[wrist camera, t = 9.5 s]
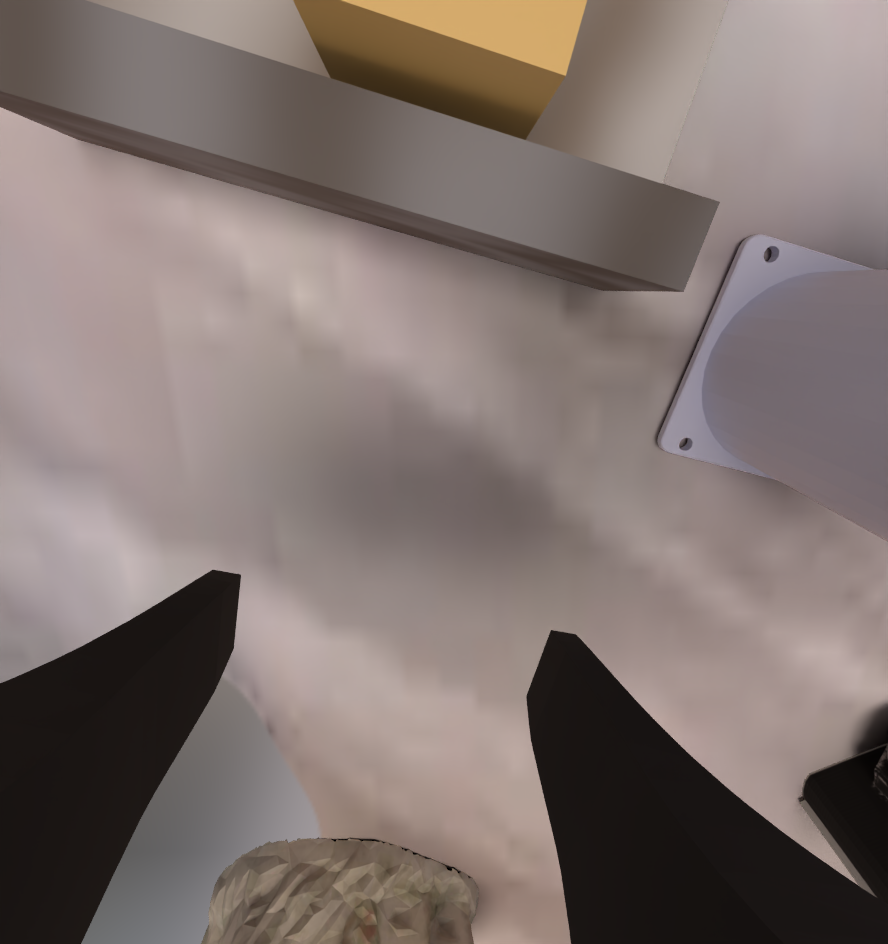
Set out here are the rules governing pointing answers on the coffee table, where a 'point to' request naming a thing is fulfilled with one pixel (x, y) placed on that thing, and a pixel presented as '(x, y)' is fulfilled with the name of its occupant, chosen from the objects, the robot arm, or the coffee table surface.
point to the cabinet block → (451, 53)
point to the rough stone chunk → (340, 896)
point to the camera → (854, 815)
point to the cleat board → (389, 127)
